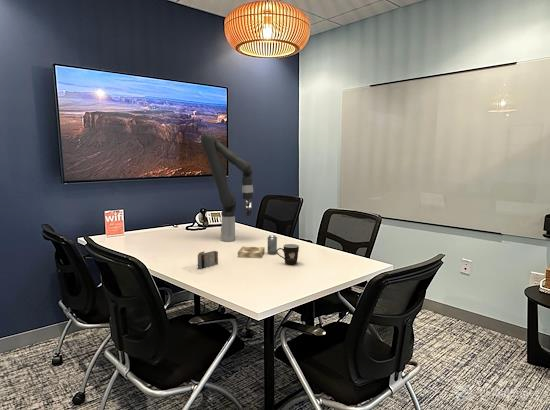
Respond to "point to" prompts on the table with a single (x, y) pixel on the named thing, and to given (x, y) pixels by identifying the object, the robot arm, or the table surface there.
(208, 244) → the table surface
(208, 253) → the grey rusty box
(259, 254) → the stand
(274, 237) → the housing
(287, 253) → the coffee mug
